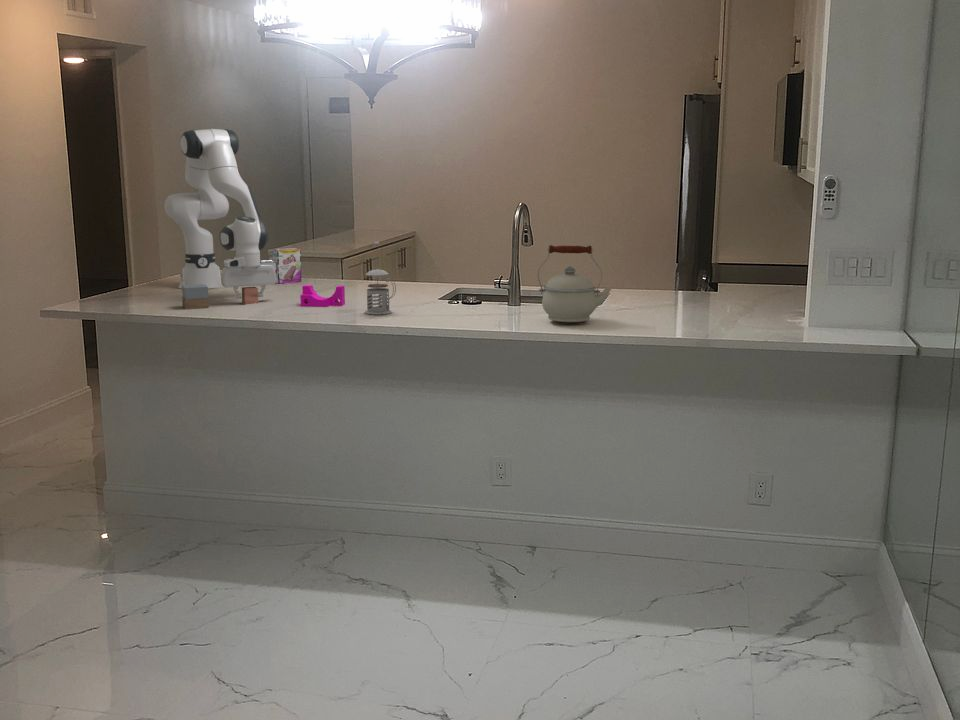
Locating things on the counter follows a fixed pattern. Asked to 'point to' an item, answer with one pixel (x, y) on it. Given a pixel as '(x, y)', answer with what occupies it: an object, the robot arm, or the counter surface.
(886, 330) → the counter surface
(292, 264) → the candy bar box
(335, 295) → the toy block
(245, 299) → the reddish brown cube
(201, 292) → the tower middle
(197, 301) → the tower base
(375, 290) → the french press
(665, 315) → the counter surface
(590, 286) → the kettle
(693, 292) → the counter surface
